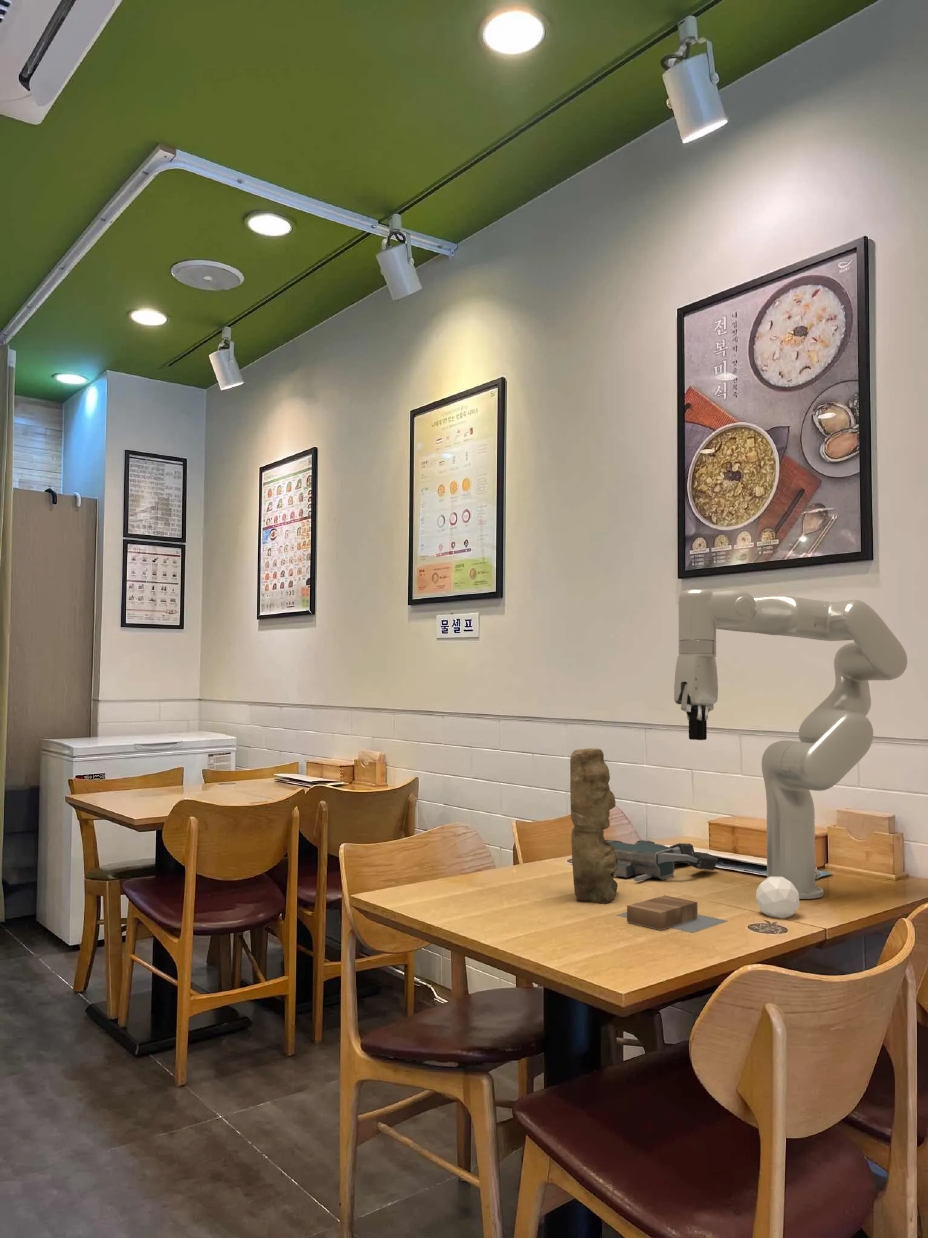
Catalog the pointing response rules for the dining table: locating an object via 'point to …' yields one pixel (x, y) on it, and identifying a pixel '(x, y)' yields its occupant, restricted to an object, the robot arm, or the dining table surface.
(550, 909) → the dining table surface
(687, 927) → the mat
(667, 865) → the toy
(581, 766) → the sculpture
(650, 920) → the wooden block
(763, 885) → the geometric ball
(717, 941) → the dining table surface
